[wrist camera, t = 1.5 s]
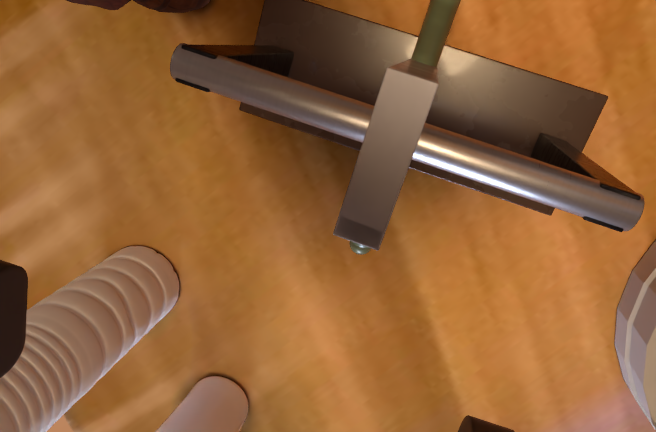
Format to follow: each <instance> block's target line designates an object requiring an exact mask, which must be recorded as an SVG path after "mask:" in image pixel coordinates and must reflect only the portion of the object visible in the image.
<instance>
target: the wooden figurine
mask: <svg viewBox="0 0 656 432" xmlns="http://www.w3.org/2000/svg"><path fill="white" fill-rule="evenodd" d="M67 1H69V2H73V3H78V4H84V5H92V6H98V7H101V8H104V9H108V10H118V9H119V8H121V7H123V6H124V5H125V4H127V3H128V2H129V1H131V0H67ZM133 1H135V2H136V3H138V4H140V5H142V6H145V7H147V8H149V9H153V10H157V11H159V12H172V13H185V12H189V11H193V10H197V9H200V8H203V7H204V6H206V5H207V4H208V3H209V2H210V0H133Z"/></svg>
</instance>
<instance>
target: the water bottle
mask: <svg viewBox="0 0 656 432" xmlns="http://www.w3.org/2000/svg"><path fill="white" fill-rule="evenodd" d="M178 292H179V281H178V277H177V274H176V273H175V272H174V271H173V267H172V265H171V264H170V262H169V261H168V260H167V259H166V258H165V257H164V256H163V255H161V254H159V253H156V251H155V250H153V249H150V248H147V247H143V246H130V247H126V248H123V249H121V250H119V251H117V252H116V253H114V254H113V255H111V256H110V257H108V258H107V259H105V260H104V261H103V262H101V263H99V264H98V265H96V266H94V267H93V268H91V269H90V270H89V271H87V272H86V273H84V274H82V275H80V276H79V277H77V278H76V279H74V280H73V281H71V282H70V283H68V284H67V285H65V286H64V287H62V288H60V289H58V290H57V291H55V292H54V293H53V294H52V295H50V296H48V297H46V298H44V299H43V300H41V301H40V302H38V303H37V304H35V305H34V306H33V307H32V308H30V309H28V310H27V314H26V338H25V344H24V348H23V351H22V353H21V355H20V357H19V359H18V360H17V362H16V363H15V365H14V366H13V367H12V368H11V369H10V370H9V371H8V372H7V373H6V374H5V375H4V376H2V377H1V378H0V432H46V431H47V430H48V429H49V428H50V427H51V426H52V425H53V424H54V423H55V422H56V421H57V420H59V419H60V418H61V417H62V415H63V414H64V413H66V412H67V411H68V410H69V409H70V408H71V407H72V405H73V404H75V403H76V402H77V401H78V400H79V399H80V398H81V397H82V396H84V395H85V394H86V393H87V392H88V391H89V390H90V389H91V388H92V387H93V386H94V384H95V383H96V382H97V381H98V380H99V379H100V378H102V377H103V376H104V375H105V374H106V373H107V372H108V371H109V370H110V369H111V368H112V367H113V365H114V364H115V363H116V362H118V361H119V360H120V359H121V358H122V357H123V356H124V355H125V354H126V353H127V352H128V351H129V350H130V348H132V347H133V346H134V345H135V344H136V343H138V342H139V340H140V339H141V338H142V337H143V336H144V335H145V334H146V333H148V332H149V331H150V330H151V329H152V328H153V327H154V325H155V324H156V323H157V322H159V321H160V320H161V319H162V318H163V317H164V316H165V315H166V314H167V313H168V312H169V311H170V310H171V309H172V308H173V307H174V305H175V303H176V301H177V299H178Z"/></svg>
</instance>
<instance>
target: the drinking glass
mask: <svg viewBox="0 0 656 432" xmlns="http://www.w3.org/2000/svg"><path fill="white" fill-rule="evenodd" d="M248 408H249V407H248V400H247V397H246V395H245V393H244V392H243V390H242V389H241V388H240V387H239V386H238V385H237V384H236V383H234V382H233V381H231V380H229V379H227V378H224V377H219V376H211V377H206V378H204V379H202V380H200V381H199V382H197V383H196V384H195V385H194V386H193V388H192V389H191V390H190V392H189V393H188V395H187V396H186V397H185V399H184V400H183V401H182V402H181V403H180V404H179V405H178V407H177V408H176V409H175V410H174V411H173V412H172V413H171V414H170V416H169V417H168V418H167V419H166V420H165V421H164V422H163V423H162V425H161V426H160V427H159V428H158V429H157V430H156V431H155V432H240V430H241V428H242V426H243V424H244V422H245V420H246V418H247V415H248Z"/></svg>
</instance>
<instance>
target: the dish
mask: <svg viewBox="0 0 656 432" xmlns="http://www.w3.org/2000/svg"><path fill="white" fill-rule="evenodd" d="M615 347H616V351H617V355H618V359H619V363H620V367H621V370H622V374H623V378H624V380H625V382H626V383H627V385H628V387H629V389H630V390H631V392H632V394H633V396H634V398H635V399H636V401H637V403H638V404H639V406H640V407H641V409H642V410H643V412H644V413H645V415H646V417H647V418H648V420H649V421H650V423H651V424H652V426H653V428H654V429H656V240H655V242H654V243H653V244H652V245H651V247H650V248H649V249H648V251H647V252H646V253H645V255H644V256H643V257H642V259H641V260H640V261H639V262H638V264H637V265H636V266H635V268H634V269H633V270H632V273H631V275H630V278H629V280H628V283H627V285H626V288H625V290H624V293H623V295H622V298H621V300H620V302H619V305H618V308H617V320H616V333H615Z"/></svg>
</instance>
